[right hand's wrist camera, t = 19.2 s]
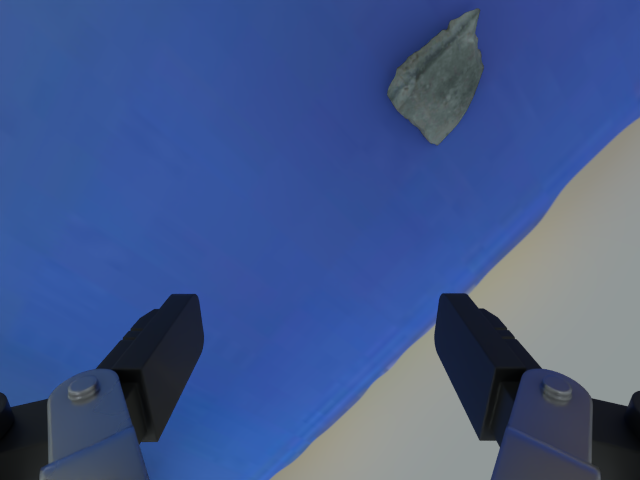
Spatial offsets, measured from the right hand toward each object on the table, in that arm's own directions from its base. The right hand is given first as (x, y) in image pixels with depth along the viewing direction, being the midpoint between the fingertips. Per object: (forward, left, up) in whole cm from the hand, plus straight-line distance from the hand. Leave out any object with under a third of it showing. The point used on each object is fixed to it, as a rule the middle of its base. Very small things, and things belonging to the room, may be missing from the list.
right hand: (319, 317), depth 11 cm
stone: (-11, +10, -29) cm, 33 cm away
